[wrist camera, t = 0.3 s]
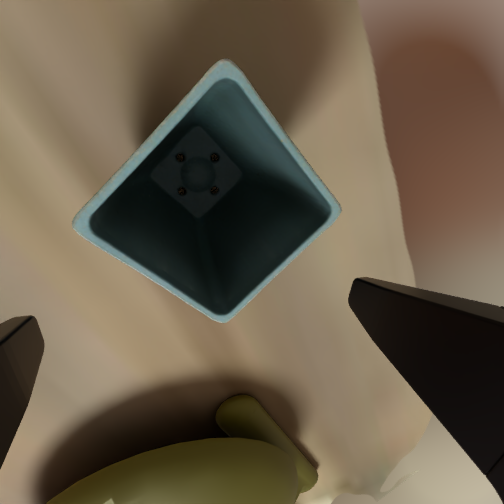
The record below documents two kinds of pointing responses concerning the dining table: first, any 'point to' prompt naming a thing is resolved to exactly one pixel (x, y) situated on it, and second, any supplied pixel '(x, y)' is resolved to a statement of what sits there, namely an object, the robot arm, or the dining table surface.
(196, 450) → the spaceship
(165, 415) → the dining table surface
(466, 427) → the robot arm
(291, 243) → the flower pot
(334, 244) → the dining table surface
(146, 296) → the dining table surface
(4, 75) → the dining table surface
